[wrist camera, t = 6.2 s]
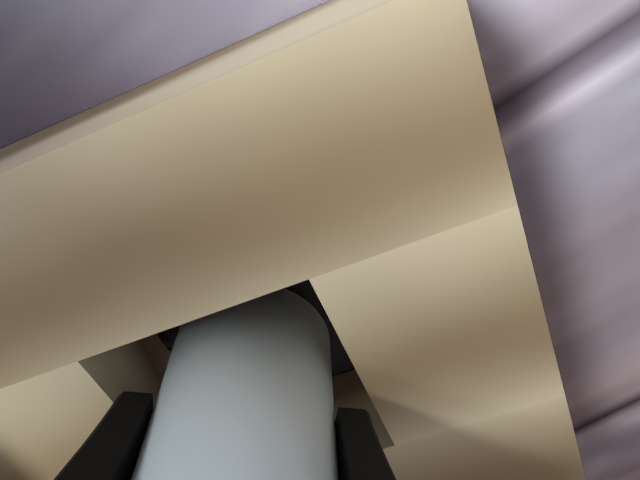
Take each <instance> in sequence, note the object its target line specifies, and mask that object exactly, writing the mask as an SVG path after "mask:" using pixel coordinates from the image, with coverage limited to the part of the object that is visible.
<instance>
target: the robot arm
mask: <svg viewBox="0 0 640 480" xmlns="http://www.w3.org/2000/svg"><path fill="white" fill-rule="evenodd" d="M152 412H153V393H143V392H129V391H124V392H122V393H121V394H119V395H118V397H117V398H116V400H115V401H114V403H113V404H112V406H111V407H110V408H109V410H108V411H107V413H106V414H105V415H104V417H103V418H102V420H101V421H100V422H99V424H98V425H97V426H96V428H95V429H94V430H93V431H92V433H91V434H90V435H89V437H88V438H87V439H86V441H85V442H84V443H83V444H82V446H81V447H80V448H79V449H78V451H77V452H76V453H75V454H74V455H73V457H72V458H71V459H70V460H69V461H68V463H67V464H66V465H65V466H64V468H63V469H62V470H61V471H60V472H59V474H58V475H57V476H56V477H55V478H54V479H53V480H131V478H132V474H133V471H134V468H135V465H136V462H137V459H138V456H139V452H140V449H141V446H142V443H143V440H144V437H145V434H146V430H147V427H148V424H149V421H150V418H151V415H152ZM335 430H336V446H337V462H338V477H339V480H396V478H395V476H394V473H393V471H392V469H391V467H390V465H389V462H388V460H387V458H386V456H385V453H384V451H383V449H382V446H381V444H380V442H379V439H378V437H377V434H376V431H375V429H374V426H373V423H372V421H371V418H370V415H369V413H368V412H367V411H366V410H365V409H356V408H343V407H338V410H337V415H336V420H335Z"/></svg>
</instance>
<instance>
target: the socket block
mask: <svg viewBox="0 0 640 480" xmlns="http://www.w3.org/2000/svg"><path fill="white" fill-rule="evenodd" d="M308 279H309V281H310V283H311V285H312V286H313V288H314V290H315V292H316V294H317V296H318V298H319V300H320V302H321V304H322V306H323V308H324V310H325V312H326V314H327V315H328V317H329V319H330V321H331V323H332V325H333V327H334V329H335V331H336V333H337V335H338V337H339V339H340V341H341V343H342V344H343V346H344V348H345V350H346V352H347V354H348V356H349V358H350V360H351V362H352V364H353V366H354V368H355V370H351V371H348V372H345V373H342V374H339V375H336V376H333V377H332V383H333V399H334V415H335V420H336V415H337V410H338V407H343V408H356V409H365V410H366V411H367V412H368V413H369V415H370V418H371V421H372V423H373V426H374V429H375V431H376V434H377V437H378V439H379V442H380V444H381V446H382V449H383V451H384V453H385V456H386V458H387V460H388V462H389V465H390V467H391V469H392V471H393V473H394V476H395V478H396V480H586V476H585V472H584V468H583V464H582V460H581V456H580V452H579V448H578V444H577V440H576V436H575V432H574V428H573V424H572V420H571V416H570V412H569V408H568V404H567V400H566V396H565V392H564V388H563V384H562V380H561V376H560V372H559V368H558V364H557V360H556V356H555V352H554V348H553V344H552V340H551V336H550V332H549V328H548V324H547V320H546V316H545V312H544V308H543V304H542V300H541V296H540V292H539V288H538V284H537V280H536V276H535V272H534V268H533V264H532V260H531V256H530V252H529V248H528V244H527V240H526V236H525V232H524V228H523V224H522V220H521V216H520V212H519V208H518V204H517V200H516V196H515V192H514V188H513V184H512V180H511V176H510V172H509V168H508V164H507V160H506V156H505V152H504V148H503V144H502V140H501V136H500V132H499V128H498V124H497V120H496V116H495V112H494V108H493V104H492V100H491V96H490V92H489V88H488V84H487V80H486V76H485V72H484V68H483V64H482V60H481V56H480V52H479V48H478V44H477V40H476V36H475V32H474V28H473V24H472V20H471V16H470V12H469V8H468V4H467V0H330V1H328V2H326V3H324V4H321V5H319V6H317V7H315V8H312V9H310V10H308V11H306V12H304V13H301V14H299V15H297V16H295V17H292V18H290V19H288V20H286V21H284V22H281V23H279V24H277V25H275V26H272V27H270V28H268V29H266V30H264V31H261V32H259V33H257V34H255V35H252V36H250V37H248V38H246V39H244V40H241V41H239V42H237V43H235V44H232V45H230V46H228V47H226V48H224V49H221V50H219V51H217V52H215V53H212V54H210V55H208V56H206V57H204V58H201V59H199V60H197V61H195V62H192V63H190V64H188V65H186V66H184V67H181V68H179V69H177V70H175V71H172V72H170V73H168V74H166V75H164V76H161V77H159V78H157V79H155V80H152V81H150V82H148V83H146V84H144V85H141V86H139V87H137V88H135V89H132V90H130V91H128V92H126V93H124V94H121V95H119V96H117V97H115V98H112V99H110V100H108V101H106V102H104V103H101V104H99V105H97V106H95V107H92V108H90V109H88V110H86V111H84V112H81V113H79V114H77V115H75V116H72V117H70V118H68V119H66V120H64V121H61V122H59V123H57V124H55V125H52V126H50V127H48V128H46V129H44V130H41V131H39V132H37V133H35V134H32V135H30V136H28V137H26V138H24V139H21V140H19V141H17V142H15V143H12V144H10V145H8V146H6V147H4V148H1V149H0V480H53V479H54V478H55V477H56V476H57V475H58V474H59V472H60V471H61V470H62V469H63V468H64V466H65V465H66V464H67V463H68V461H69V460H70V459H71V458H72V457H73V455H74V454H75V453H76V452H77V451H78V449H79V448H80V447H81V446H82V444H83V443H84V442H85V441H86V439H87V438H88V437H89V435H90V434H91V433H92V431H93V430H94V429H95V428H96V426H97V425H98V424H99V422H100V421H101V420H102V418H103V417H104V415H105V414H106V413H107V411H108V410H109V408H110V407H111V406H112V404H113V403H114V401H115V400H116V398H117V397H118V395H119V394H121V393H122V392H124V391H129V392H143V393H153V408H154V405H155V402H156V399H157V396H158V393H159V390H160V386H161V383H162V380H163V377H164V374H165V371H166V368H167V364H168V361H169V358H170V355H171V353H170V351H169V350H168V349H167V347H166V346H165V345H164V343H163V342H162V341H161V339H160V338H159V337H158V335H157V334H156V333H159V332H162V331H165V330H168V329H170V328H173V327H176V326H179V325H182V324H184V323H187V322H190V321H193V320H196V319H199V318H201V317H204V316H207V315H210V314H213V313H215V312H218V311H221V310H224V309H227V308H229V307H232V306H235V305H238V304H241V303H244V302H246V301H249V300H252V299H255V298H258V297H260V296H263V295H266V294H269V293H272V292H275V291H277V290H280V289H283V288H286V287H289V286H291V285H294V284H297V283H300V282H303V281H305V280H308Z"/></svg>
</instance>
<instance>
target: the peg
mask: <svg viewBox="0 0 640 480" xmlns="http://www.w3.org/2000/svg"><path fill="white" fill-rule="evenodd" d="M131 480H339V477H338V462H337V446H336V430H335V415H334V399H333V383H332V367H331V352H330V339H329V333H328V330H327V326H326V324H325V322H324V320H323V318H322V317H321V315H320V314H319V313H318V311H317V310H316V309H315V308H314V307H313V306H312V305H311V304H310V303H309V302H307V301H306V300H305V299H304V298H302V297H300V296H299V295H297V294H295V293H293V292H291V291H289V290H287V289H284V288H283V289H280V290H277V291H275V292H272V293H269V294H266V295H263V296H260V297H258V298H255V299H252V300H249V301H246V302H244V303H241V304H238V305H235V306H232V307H229V308H227V309H224V310H221V311H218V312H215V313H213V314H210V315H207V316H204V317H201V318H199V319H196V320H193V321H190V322H187V323H184V324H182V325H180V327H179V330H178V333H177V336H176V339H175V343H174V346H173V349H172V352H171V355H170V358H169V361H168V364H167V368H166V371H165V374H164V377H163V380H162V383H161V386H160V390H159V393H158V396H157V399H156V402H155V405H154V408H153V412H152V415H151V418H150V421H149V424H148V427H147V430H146V434H145V437H144V440H143V443H142V446H141V449H140V452H139V456H138V459H137V462H136V465H135V468H134V471H133V474H132V478H131Z"/></svg>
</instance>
